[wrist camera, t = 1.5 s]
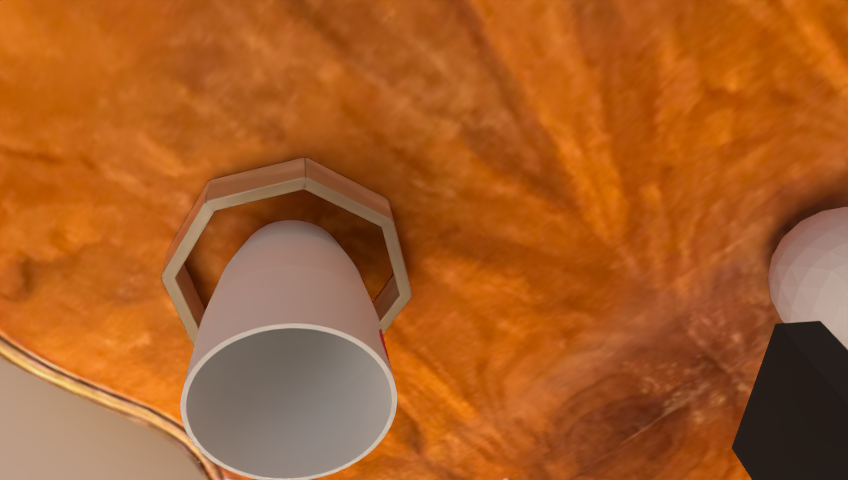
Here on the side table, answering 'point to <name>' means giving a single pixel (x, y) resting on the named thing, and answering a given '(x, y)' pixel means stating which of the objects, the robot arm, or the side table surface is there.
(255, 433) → the cup
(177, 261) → the holder ring
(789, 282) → the perfume bottle
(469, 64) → the side table surface
